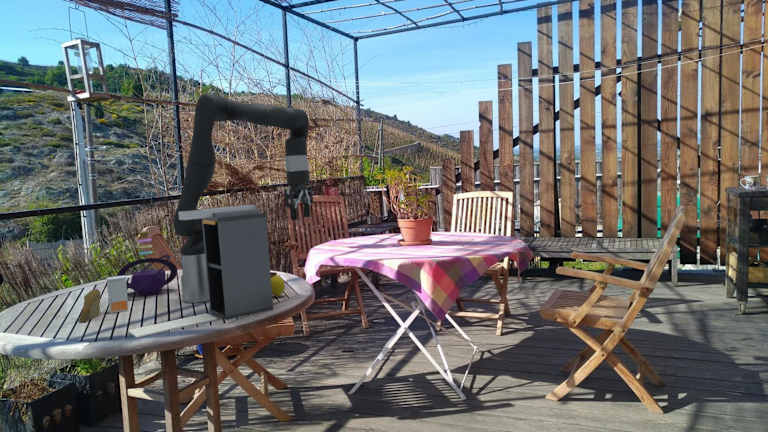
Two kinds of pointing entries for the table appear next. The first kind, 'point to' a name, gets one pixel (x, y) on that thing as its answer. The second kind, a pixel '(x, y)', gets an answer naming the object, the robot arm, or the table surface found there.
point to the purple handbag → (148, 271)
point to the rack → (237, 263)
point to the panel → (211, 212)
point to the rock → (90, 306)
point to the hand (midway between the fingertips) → (300, 218)
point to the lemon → (277, 285)
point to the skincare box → (117, 294)
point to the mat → (171, 325)
